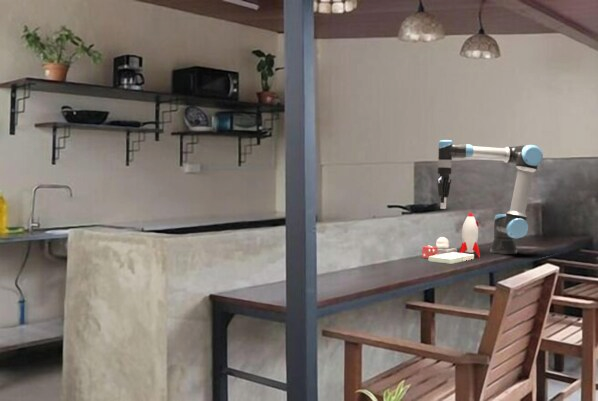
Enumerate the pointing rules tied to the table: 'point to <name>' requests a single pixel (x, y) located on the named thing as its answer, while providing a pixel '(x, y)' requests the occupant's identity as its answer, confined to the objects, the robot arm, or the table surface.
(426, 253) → the red die
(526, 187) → the robot arm
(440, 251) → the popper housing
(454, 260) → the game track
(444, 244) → the dome
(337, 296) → the table surface
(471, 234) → the rocket
